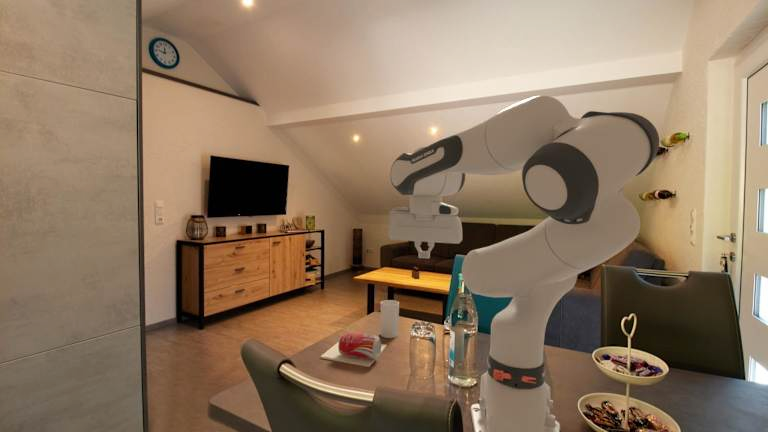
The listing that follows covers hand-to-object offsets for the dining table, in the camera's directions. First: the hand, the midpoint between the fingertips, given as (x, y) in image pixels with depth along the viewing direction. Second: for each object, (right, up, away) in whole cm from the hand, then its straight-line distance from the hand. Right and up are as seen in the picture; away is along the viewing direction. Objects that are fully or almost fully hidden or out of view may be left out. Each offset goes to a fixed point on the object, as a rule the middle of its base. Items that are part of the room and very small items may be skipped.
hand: (424, 258), depth 98 cm
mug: (-9, -32, +33) cm, 47 cm away
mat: (-20, -32, +16) cm, 41 cm away
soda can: (-12, -28, +9) cm, 32 cm away
